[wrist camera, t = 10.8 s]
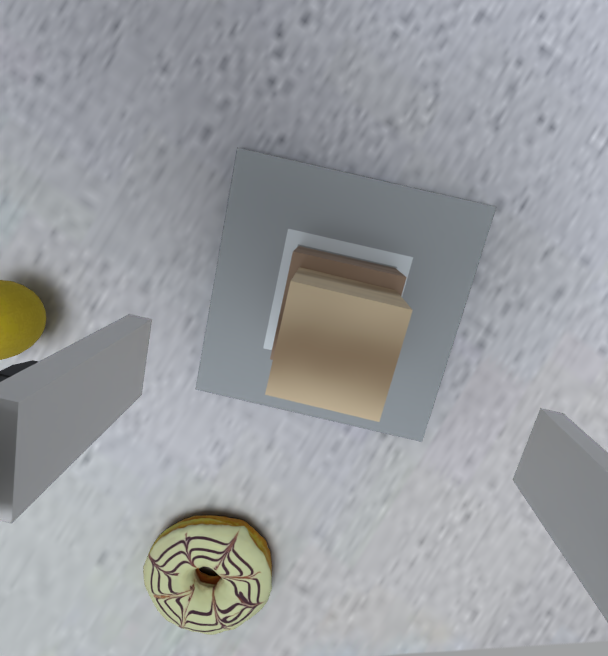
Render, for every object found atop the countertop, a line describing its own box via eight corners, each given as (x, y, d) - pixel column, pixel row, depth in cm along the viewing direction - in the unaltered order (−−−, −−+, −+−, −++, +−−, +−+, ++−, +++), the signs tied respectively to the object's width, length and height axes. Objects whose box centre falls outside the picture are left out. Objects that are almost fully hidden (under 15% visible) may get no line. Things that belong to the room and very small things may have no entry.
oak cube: (299, 267, 28) (290, 280, 22) (395, 290, 28) (412, 310, 22) (278, 358, 29) (264, 394, 23) (370, 380, 29) (379, 422, 23)
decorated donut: (290, 591, 41) (286, 628, 38) (181, 615, 43) (167, 653, 39) (252, 493, 39) (244, 522, 35) (138, 521, 40) (119, 552, 37)
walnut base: (298, 245, 32) (292, 251, 27) (395, 267, 32) (406, 277, 27) (278, 338, 34) (269, 359, 29) (370, 359, 34) (376, 384, 29)
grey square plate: (240, 149, 32) (237, 147, 31) (490, 207, 32) (496, 206, 31) (199, 383, 37) (195, 389, 35) (419, 434, 36) (422, 442, 35)
